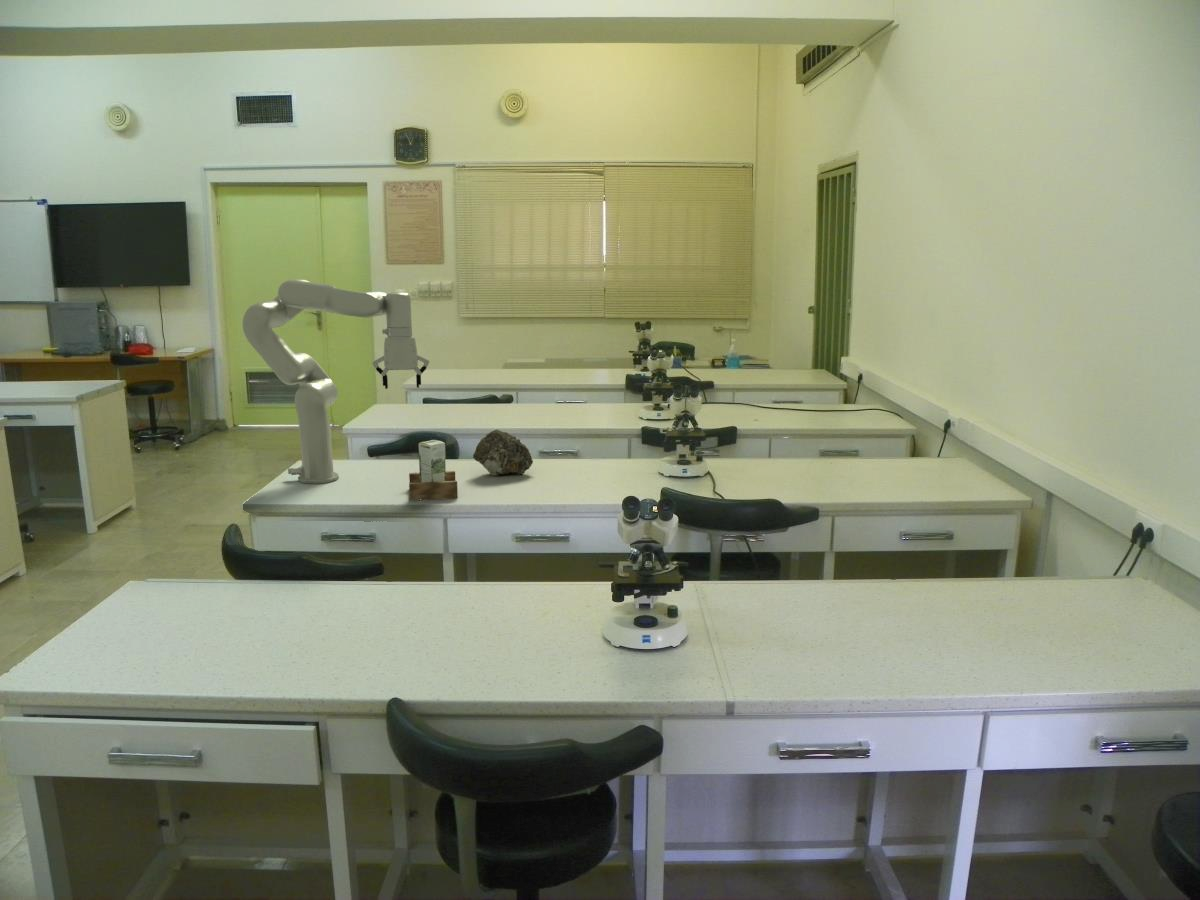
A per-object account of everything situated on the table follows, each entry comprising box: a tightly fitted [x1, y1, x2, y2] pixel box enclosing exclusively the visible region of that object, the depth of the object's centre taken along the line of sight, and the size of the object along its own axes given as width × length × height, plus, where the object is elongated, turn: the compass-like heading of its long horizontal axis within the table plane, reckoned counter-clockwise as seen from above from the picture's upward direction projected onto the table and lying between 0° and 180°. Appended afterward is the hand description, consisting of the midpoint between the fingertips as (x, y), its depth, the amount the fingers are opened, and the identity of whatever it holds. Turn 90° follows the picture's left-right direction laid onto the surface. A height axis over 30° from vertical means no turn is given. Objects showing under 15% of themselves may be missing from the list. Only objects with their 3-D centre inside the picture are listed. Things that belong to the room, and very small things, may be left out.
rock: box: [472, 429, 534, 476], centre depth 301 cm, size 18×14×15 cm
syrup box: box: [418, 439, 447, 482], centre depth 275 cm, size 6×6×14 cm
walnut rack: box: [408, 470, 459, 501], centre depth 276 cm, size 14×14×5 cm
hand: (402, 387), depth 285 cm, fingers open, 9 cm apart
